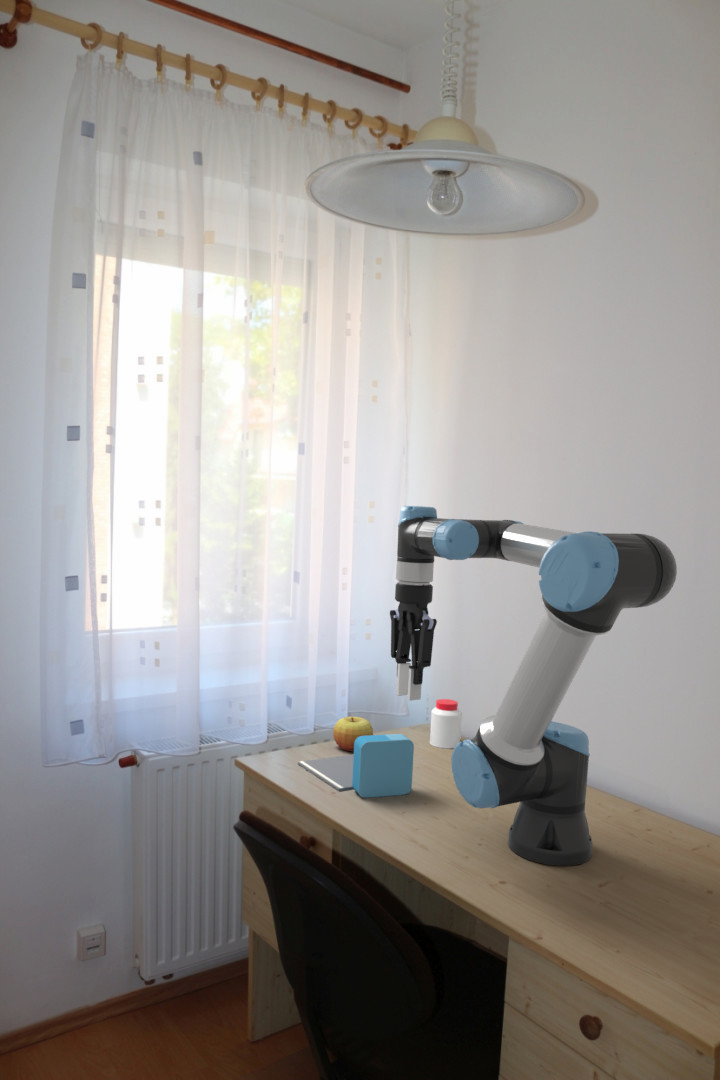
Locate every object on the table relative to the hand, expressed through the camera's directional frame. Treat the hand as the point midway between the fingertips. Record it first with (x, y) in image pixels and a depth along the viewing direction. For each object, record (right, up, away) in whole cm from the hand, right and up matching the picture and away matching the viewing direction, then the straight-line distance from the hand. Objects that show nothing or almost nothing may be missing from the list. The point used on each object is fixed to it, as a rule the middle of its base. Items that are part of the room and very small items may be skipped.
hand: (408, 696), depth 175 cm
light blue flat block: (-5, -22, +8) cm, 24 cm away
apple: (-12, -20, +38) cm, 45 cm away
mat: (-12, -21, +21) cm, 32 cm away
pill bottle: (+12, -21, +46) cm, 51 cm away
